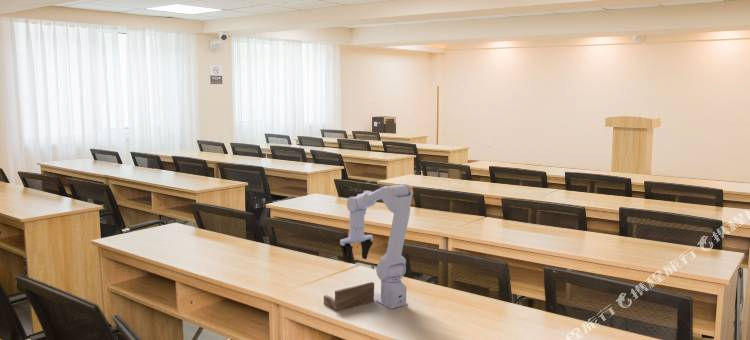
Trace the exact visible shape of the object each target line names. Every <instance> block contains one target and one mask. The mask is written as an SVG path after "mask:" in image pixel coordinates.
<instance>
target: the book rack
mask: <svg viewBox="0 0 750 340" xmlns="http://www.w3.org/2000/svg"><path fill="white" fill-rule="evenodd" d="M374 301H375V282H373V281H371V282H367V283H364V284H359V285H354V286H350V287H345V288H342V289H337V290H334V298H333V297H331V296H329V295H327V294H324V295H323V304H324V305H326V306H328V307H329V308H331V309H333V310H335V312H336V311H341V310H344V309H349V308H353V307H357V306H361V305H364V304H368V303H373V302H374Z"/></svg>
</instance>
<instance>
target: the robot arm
mask: <svg viewBox="0 0 750 340" xmlns="http://www.w3.org/2000/svg"><path fill="white" fill-rule="evenodd" d="M379 200H382V202H383V204H384V205H385V207H386V208H387V209H388V211H389V212H390V213H392V214H393V218H392V222H391V227H390V232H389V238H388V243H387V248H386V252H385V253H384V254H383V256H381V258H379V262H378V264H376V271H375V272H376V275H377V277H378V279H379V280H380V298H378V299H375V302H376V303H379V304H381V305H382V306H385V307H386V308H389V309H391V310H392V309H397V308H398V307H403V306H406V305H409V302H407V286H406V284H405V283H403V281H402V279H403V276H405V274H406V272H407V271H406V270H407V267H406V262H407V259H406V258H405V257H404V256H403V254H402V253H403V247H404V245H405V244H404V243H405V239H406V234H407V229H408V224H409V220H410V215H411V204H412V200H413V192H412V190H411V188H410V186H409V185H408V184H407V183H402V184H396V185H384V186H381V187H379V188H378V189H375V190H374V191H372V190H368V189H367V190H363V192H362V193H357V195H356V196H349V197H348V198H347V199H346V208H347V210H348V211H349V235H348V237H345V238H343V239H342V238H341V239H340V240H339V245H340V247H341V249H342V251H343V253H344V256H345V261H346V262H347V263H352V252H353V248H354V246H352V245H351V244H357V243H360V245H361V258H362V259H364V260H367V257H368V254H369V251H370V249H371V247H372V246H373V243H374V242H373V241H374V235H372V234H365V216H366V214H367V213H366V212H367V209H368V208H370V207H372V206H374V205H375V204H376V203H377V201H379Z"/></svg>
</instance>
